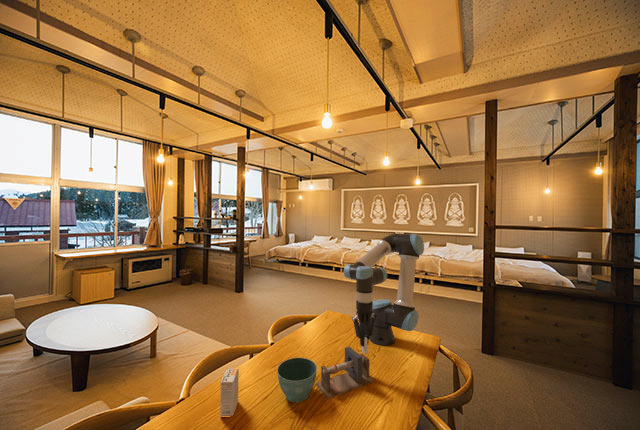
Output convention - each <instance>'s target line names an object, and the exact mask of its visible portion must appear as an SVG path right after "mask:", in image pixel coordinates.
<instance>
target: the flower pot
mask: <svg viewBox="0 0 640 430" xmlns="http://www.w3.org/2000/svg"><path fill="white" fill-rule="evenodd" d="M317 369H318V367H317V364H316V363H315V362H314V361H313V360H312V359H309V358H306V357H291V358H288V359H286V360H283V361H281V362H280V364H279V365H278V366H277V370H276V371H277V372H276V373H277V380H278V384H279V387H280V389H281V391H282V393H283V394H284V395H285V398H286V400H287V401H289V402H290V403H296V404H297V403H301V402H304V401H306V399H308V397H309V394H310V392H311V391H312V389H313V387H314V385H315V382H316V377H317Z"/></svg>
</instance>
